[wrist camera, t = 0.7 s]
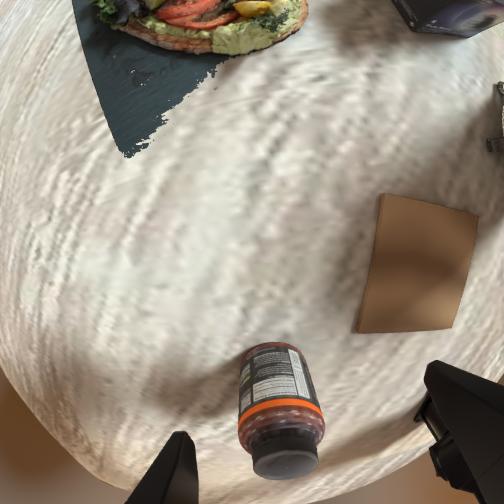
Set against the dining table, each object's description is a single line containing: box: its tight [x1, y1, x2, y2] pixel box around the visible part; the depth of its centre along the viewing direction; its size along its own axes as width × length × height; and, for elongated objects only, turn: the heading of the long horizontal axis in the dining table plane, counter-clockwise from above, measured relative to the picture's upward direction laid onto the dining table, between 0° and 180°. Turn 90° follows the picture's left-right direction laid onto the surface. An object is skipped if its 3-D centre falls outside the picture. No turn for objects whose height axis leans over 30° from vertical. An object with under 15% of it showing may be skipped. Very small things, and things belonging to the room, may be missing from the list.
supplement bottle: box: [238, 342, 325, 480], centre depth 18 cm, size 6×6×11 cm
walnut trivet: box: [356, 193, 479, 334], centre depth 21 cm, size 12×12×1 cm
